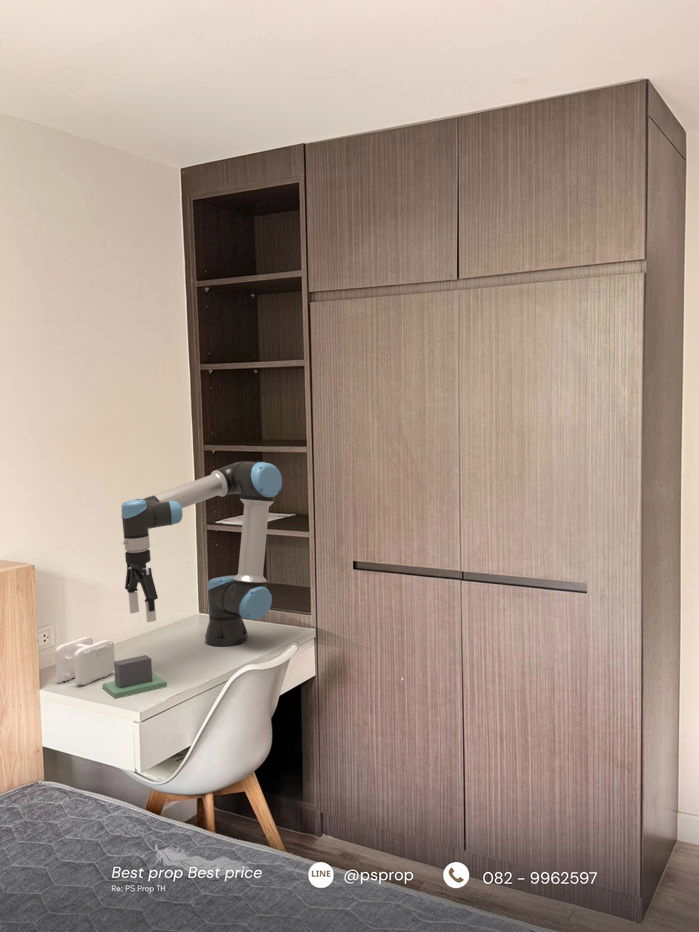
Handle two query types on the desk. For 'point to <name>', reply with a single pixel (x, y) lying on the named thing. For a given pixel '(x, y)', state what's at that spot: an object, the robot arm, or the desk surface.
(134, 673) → the block
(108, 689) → the board
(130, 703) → the desk surface
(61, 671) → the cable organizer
